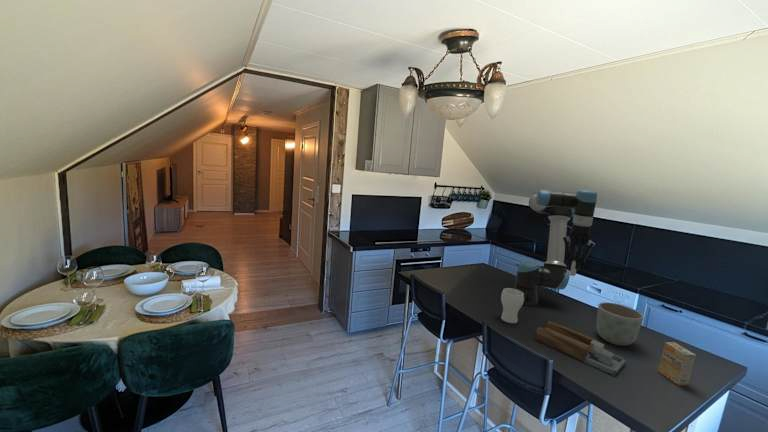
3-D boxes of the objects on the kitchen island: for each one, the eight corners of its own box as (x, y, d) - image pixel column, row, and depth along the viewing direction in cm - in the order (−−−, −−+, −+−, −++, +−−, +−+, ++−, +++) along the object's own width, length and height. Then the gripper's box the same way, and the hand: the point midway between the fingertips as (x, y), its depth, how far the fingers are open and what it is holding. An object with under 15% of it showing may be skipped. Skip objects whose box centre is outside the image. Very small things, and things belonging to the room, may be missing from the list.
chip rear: (591, 347, 138) (593, 339, 137) (602, 353, 135) (604, 344, 134) (588, 350, 136) (590, 342, 135) (598, 356, 133) (601, 347, 132)
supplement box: (657, 371, 130) (664, 341, 128) (668, 371, 130) (675, 341, 128) (677, 385, 122) (685, 354, 120) (688, 386, 122) (696, 354, 120)
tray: (595, 351, 141) (596, 346, 141) (624, 364, 133) (625, 359, 133) (583, 362, 132) (584, 357, 132) (614, 376, 124) (615, 371, 124)
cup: (522, 326, 159) (526, 297, 156) (499, 322, 161) (503, 294, 158) (518, 316, 169) (522, 289, 167) (496, 313, 171) (500, 286, 169)
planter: (628, 336, 158) (634, 306, 155) (643, 354, 142) (650, 322, 139) (588, 328, 163) (594, 299, 160) (598, 345, 147) (604, 313, 144)
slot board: (547, 331, 156) (549, 320, 155) (594, 351, 141) (597, 340, 140) (535, 339, 148) (537, 328, 147) (583, 361, 133) (586, 349, 132)
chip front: (603, 348, 135) (614, 353, 132) (600, 357, 136) (611, 362, 133) (600, 351, 132) (611, 357, 129) (597, 360, 133) (608, 365, 130)
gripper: (563, 222, 148) (554, 272, 152) (595, 228, 138) (585, 281, 142) (569, 221, 153) (561, 269, 157) (601, 227, 143) (591, 278, 147)
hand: (572, 275), depth 150 cm, fingers closed
